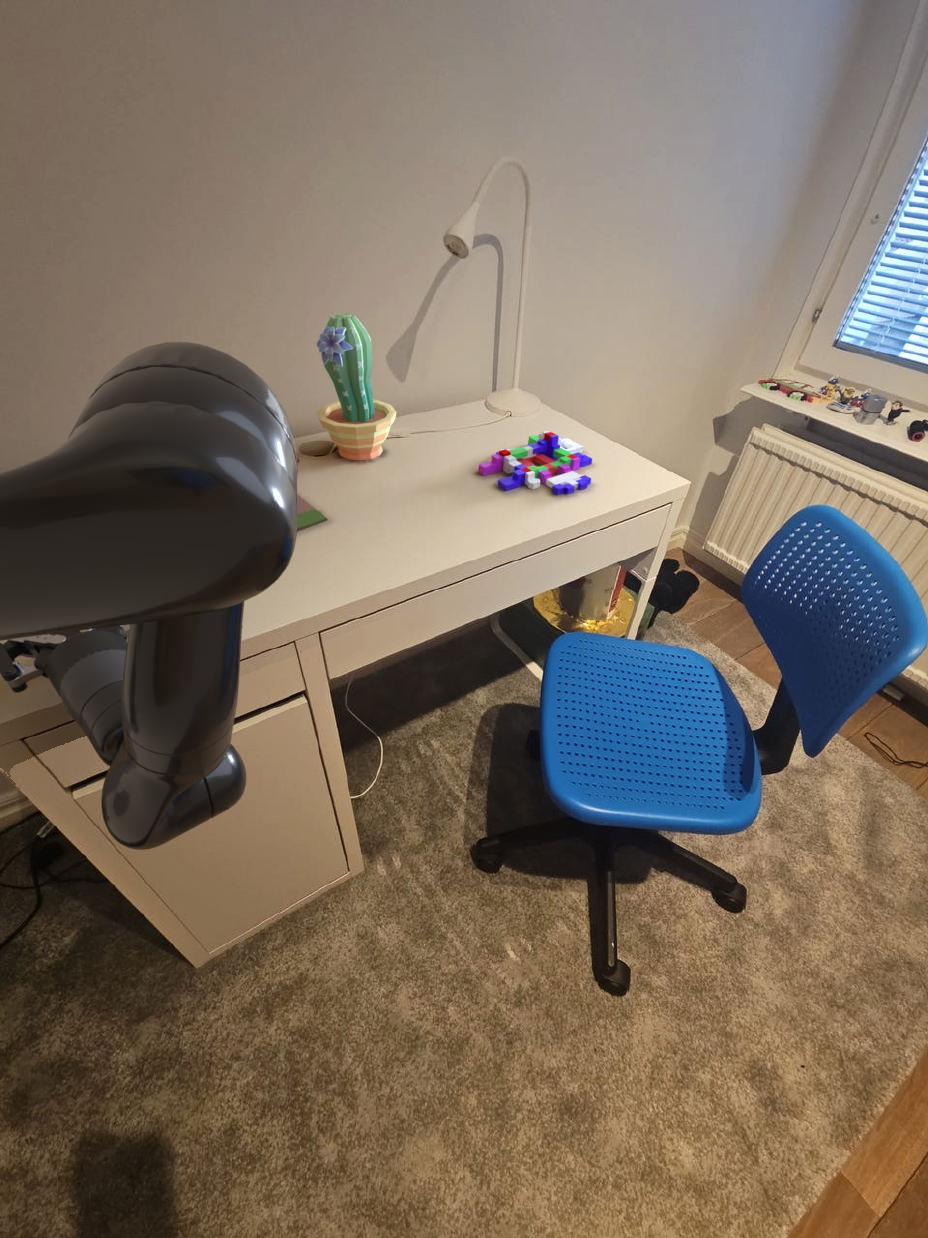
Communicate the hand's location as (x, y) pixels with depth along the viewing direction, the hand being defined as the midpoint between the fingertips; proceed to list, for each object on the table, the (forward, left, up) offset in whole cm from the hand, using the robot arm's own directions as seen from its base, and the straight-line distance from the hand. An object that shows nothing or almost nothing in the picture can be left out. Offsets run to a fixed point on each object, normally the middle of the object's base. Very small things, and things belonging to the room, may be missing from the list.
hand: (53, 607), depth 62 cm
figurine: (+34, +10, -6) cm, 36 cm away
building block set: (+81, -17, -6) cm, 83 cm away
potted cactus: (+62, +16, -6) cm, 65 cm away
